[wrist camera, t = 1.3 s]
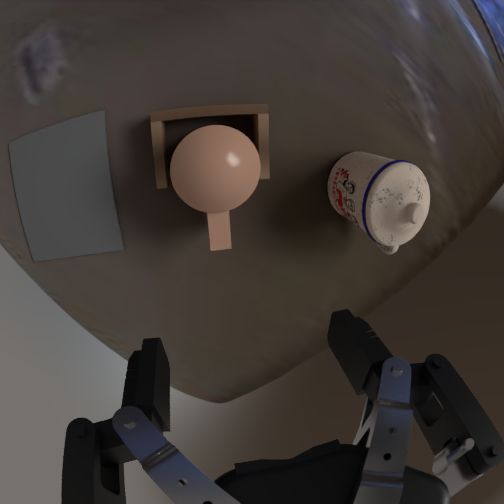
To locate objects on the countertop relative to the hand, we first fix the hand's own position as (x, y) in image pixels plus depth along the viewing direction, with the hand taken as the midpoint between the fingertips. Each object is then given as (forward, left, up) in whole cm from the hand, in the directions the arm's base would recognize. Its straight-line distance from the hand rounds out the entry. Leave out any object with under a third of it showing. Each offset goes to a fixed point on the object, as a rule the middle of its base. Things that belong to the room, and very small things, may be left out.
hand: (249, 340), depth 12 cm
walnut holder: (-7, 0, -20) cm, 21 cm away
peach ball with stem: (-4, 0, -20) cm, 20 cm away
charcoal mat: (-5, -18, -20) cm, 27 cm away
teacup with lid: (-1, +18, -20) cm, 27 cm away
